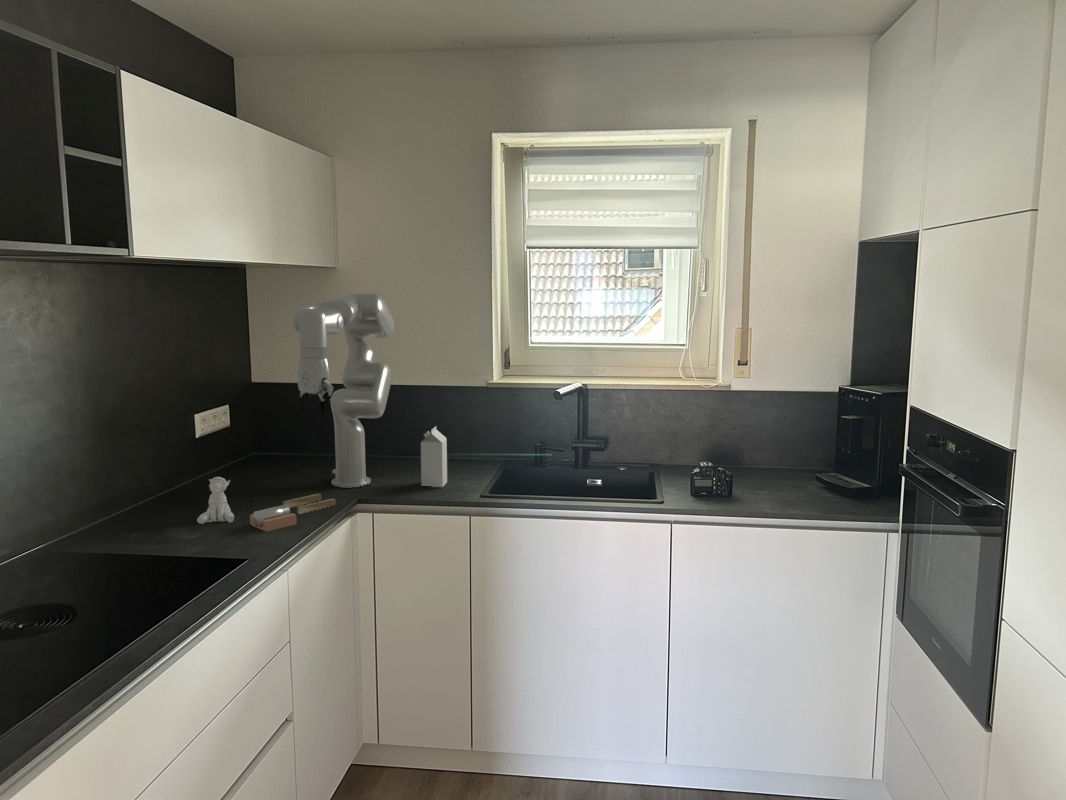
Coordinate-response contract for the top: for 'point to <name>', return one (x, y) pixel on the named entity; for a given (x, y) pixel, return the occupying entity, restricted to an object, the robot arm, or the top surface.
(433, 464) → the milk carton
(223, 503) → the white creature statuette
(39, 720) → the top surface
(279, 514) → the grey cylinder
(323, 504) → the channel beam
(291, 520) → the cradle
